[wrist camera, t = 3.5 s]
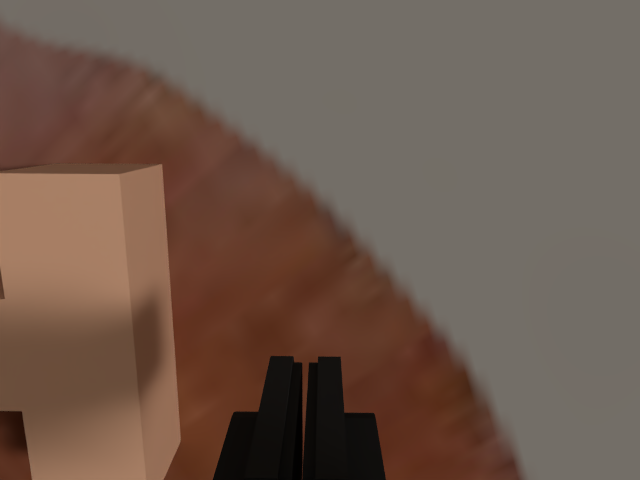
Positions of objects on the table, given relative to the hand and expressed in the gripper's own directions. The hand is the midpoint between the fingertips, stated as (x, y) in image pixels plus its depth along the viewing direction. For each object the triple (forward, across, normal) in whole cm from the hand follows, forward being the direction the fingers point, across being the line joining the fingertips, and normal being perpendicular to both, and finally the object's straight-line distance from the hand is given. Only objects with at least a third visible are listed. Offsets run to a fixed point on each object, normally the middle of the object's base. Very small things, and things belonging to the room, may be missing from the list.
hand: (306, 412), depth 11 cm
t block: (+8, +12, +1) cm, 14 cm away
